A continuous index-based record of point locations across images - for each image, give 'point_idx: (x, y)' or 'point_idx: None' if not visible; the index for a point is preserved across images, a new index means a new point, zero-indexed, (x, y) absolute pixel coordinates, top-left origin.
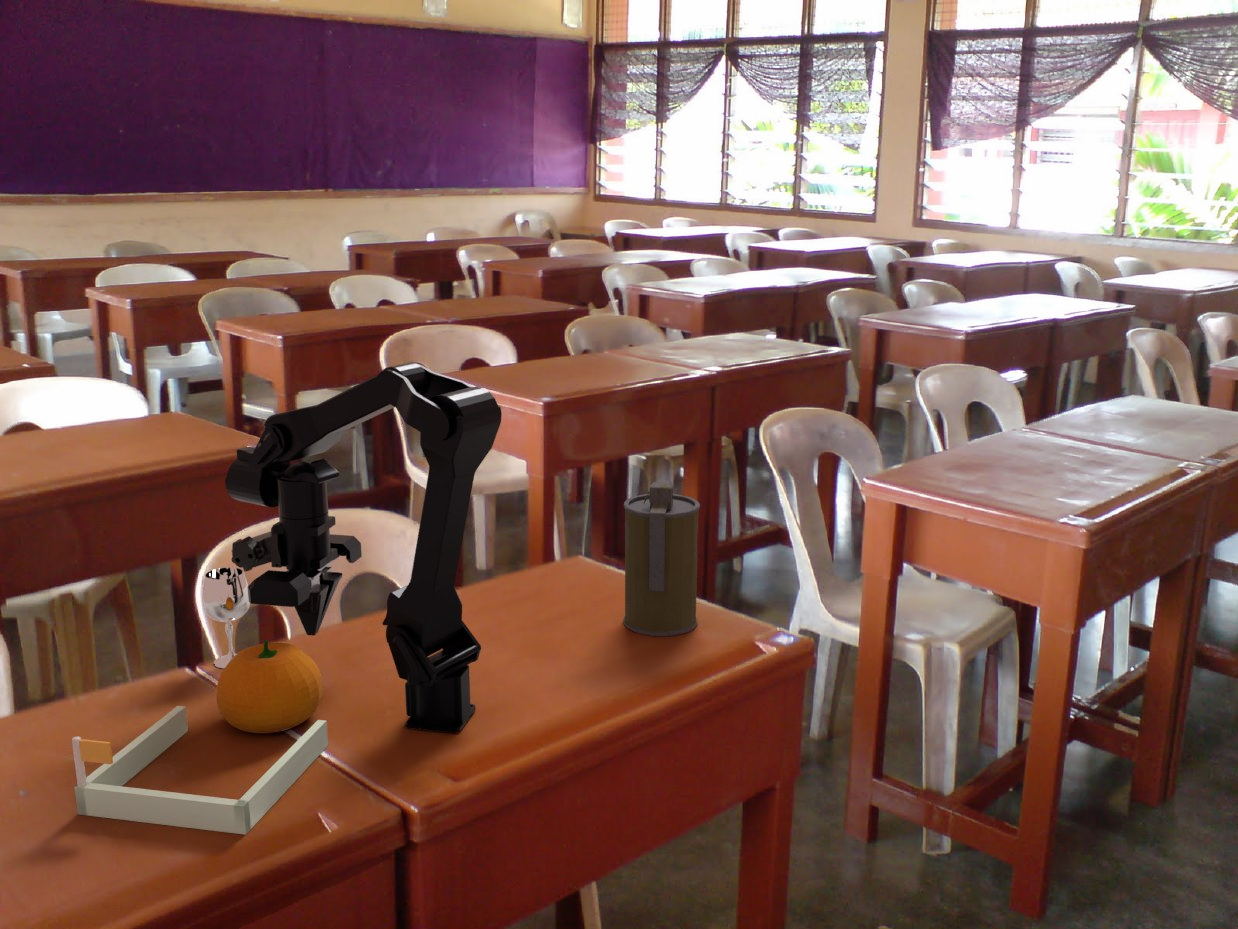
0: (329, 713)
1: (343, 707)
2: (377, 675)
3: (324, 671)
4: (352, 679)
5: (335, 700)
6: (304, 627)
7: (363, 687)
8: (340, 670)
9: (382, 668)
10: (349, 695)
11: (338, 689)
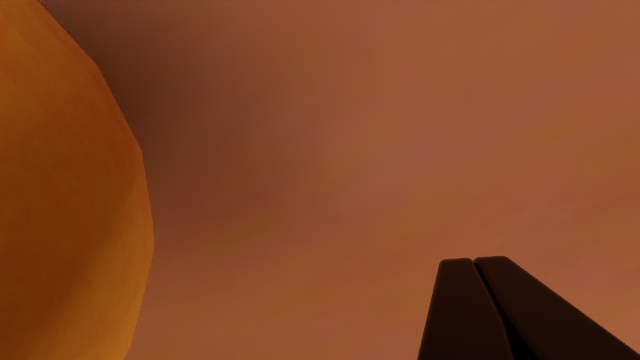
0: None
1: (187, 339)
2: None
3: (526, 98)
4: None
5: (231, 289)
6: (433, 310)
7: (382, 330)
8: (547, 169)
9: None
10: (294, 315)
11: (335, 254)
